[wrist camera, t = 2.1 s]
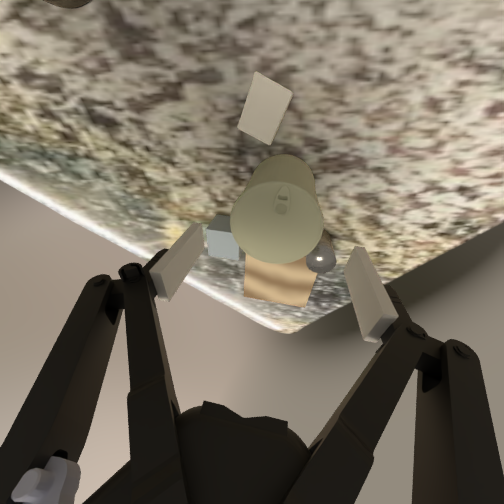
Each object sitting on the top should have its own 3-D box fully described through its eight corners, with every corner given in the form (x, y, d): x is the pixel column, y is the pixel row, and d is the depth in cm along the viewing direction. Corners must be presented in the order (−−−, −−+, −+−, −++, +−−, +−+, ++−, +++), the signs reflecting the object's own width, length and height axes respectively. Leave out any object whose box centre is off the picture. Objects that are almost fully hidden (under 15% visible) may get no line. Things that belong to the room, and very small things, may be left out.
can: (324, 161, 25) (342, 194, 16) (303, 223, 31) (307, 275, 21) (254, 148, 26) (231, 172, 16) (246, 211, 31) (225, 257, 22)
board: (247, 244, 35) (246, 247, 34) (321, 255, 34) (322, 259, 33) (244, 292, 43) (243, 296, 42) (304, 302, 42) (304, 307, 41)
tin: (307, 227, 31) (309, 248, 26) (333, 230, 31) (340, 253, 26) (302, 247, 33) (303, 270, 29) (326, 250, 33) (331, 275, 28)
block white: (261, 75, 21) (255, 70, 18) (293, 94, 22) (293, 92, 19) (244, 125, 24) (237, 128, 21) (273, 140, 25) (269, 145, 22)
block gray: (216, 214, 33) (206, 229, 29) (246, 218, 32) (239, 234, 28) (218, 239, 36) (208, 255, 32) (245, 243, 35) (238, 260, 31)
